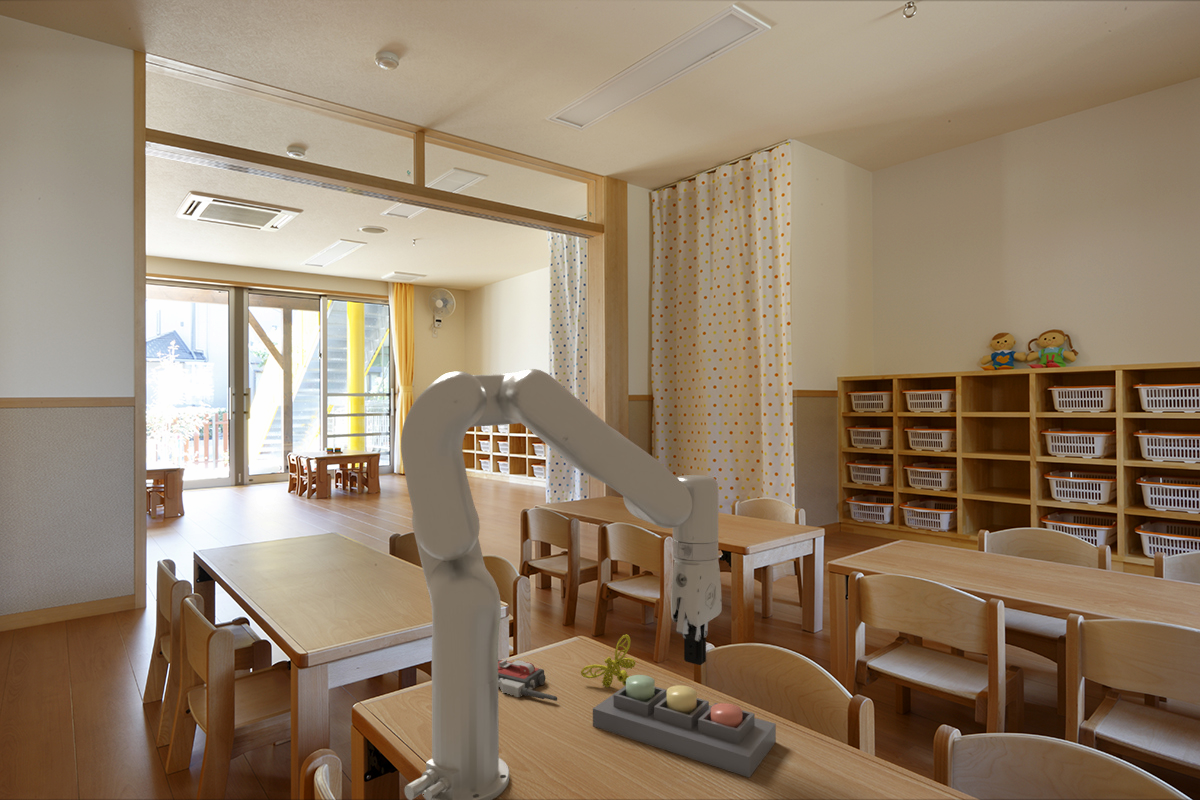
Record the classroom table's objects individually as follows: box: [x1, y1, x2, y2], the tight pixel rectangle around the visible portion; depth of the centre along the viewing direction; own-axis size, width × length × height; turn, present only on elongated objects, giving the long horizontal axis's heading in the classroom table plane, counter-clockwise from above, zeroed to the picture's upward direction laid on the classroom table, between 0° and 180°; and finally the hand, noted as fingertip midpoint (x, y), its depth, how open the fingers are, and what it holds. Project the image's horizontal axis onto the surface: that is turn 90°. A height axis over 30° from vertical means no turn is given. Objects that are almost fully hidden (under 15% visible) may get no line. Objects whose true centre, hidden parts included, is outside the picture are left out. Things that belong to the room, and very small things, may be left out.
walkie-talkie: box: [498, 658, 558, 702], centre depth 125 cm, size 9×4×20 cm
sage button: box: [626, 674, 656, 702], centre depth 111 cm, size 5×5×2 cm
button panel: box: [592, 685, 777, 778], centre depth 106 cm, size 12×28×5 cm, turn 56°
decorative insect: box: [580, 634, 636, 689], centre depth 124 cm, size 13×3×10 cm
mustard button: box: [666, 684, 698, 714], centre depth 106 cm, size 5×5×2 cm
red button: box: [711, 702, 743, 728], centre depth 102 cm, size 5×5×2 cm
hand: (695, 661), depth 105 cm, fingers closed
